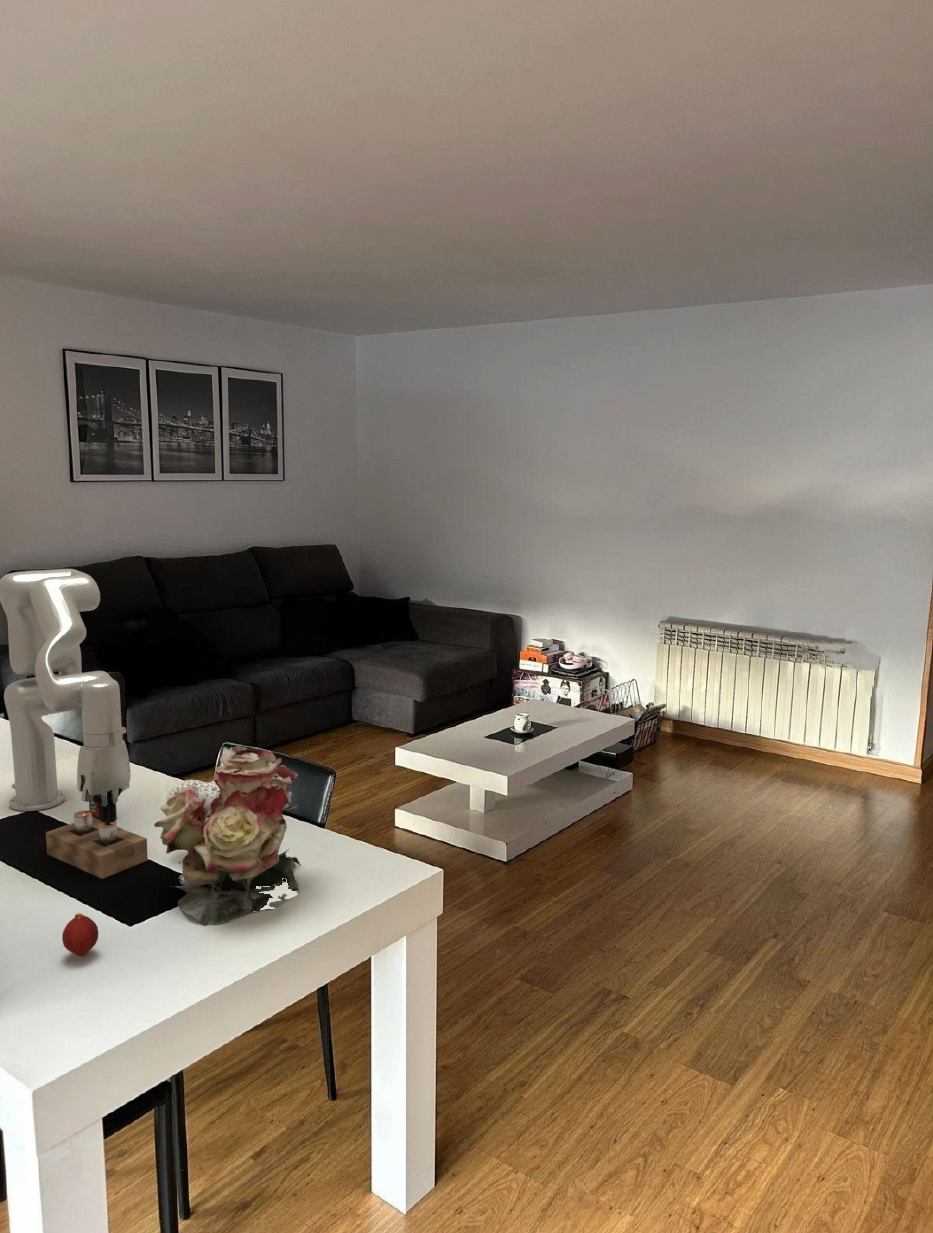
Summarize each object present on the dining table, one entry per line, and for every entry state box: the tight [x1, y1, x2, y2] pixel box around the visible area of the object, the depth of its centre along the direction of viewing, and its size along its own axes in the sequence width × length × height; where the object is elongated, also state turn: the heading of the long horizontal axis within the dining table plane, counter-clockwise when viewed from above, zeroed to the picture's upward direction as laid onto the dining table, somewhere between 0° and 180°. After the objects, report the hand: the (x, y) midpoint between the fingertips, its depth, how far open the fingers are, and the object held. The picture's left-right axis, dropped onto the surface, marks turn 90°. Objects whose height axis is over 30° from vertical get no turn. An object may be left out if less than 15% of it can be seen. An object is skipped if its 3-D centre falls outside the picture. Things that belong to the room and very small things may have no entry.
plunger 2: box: [99, 820, 118, 847], centre depth 196 cm, size 4×4×5 cm
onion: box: [61, 912, 99, 957], centre depth 160 cm, size 6×6×8 cm
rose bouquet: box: [154, 744, 302, 926], centre depth 181 cm, size 26×29×30 cm
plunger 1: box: [73, 809, 93, 836], centre depth 201 cm, size 4×4×5 cm
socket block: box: [45, 817, 149, 880], centre depth 199 cm, size 20×11×5 cm, turn 55°
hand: (107, 821), depth 195 cm, fingers closed
